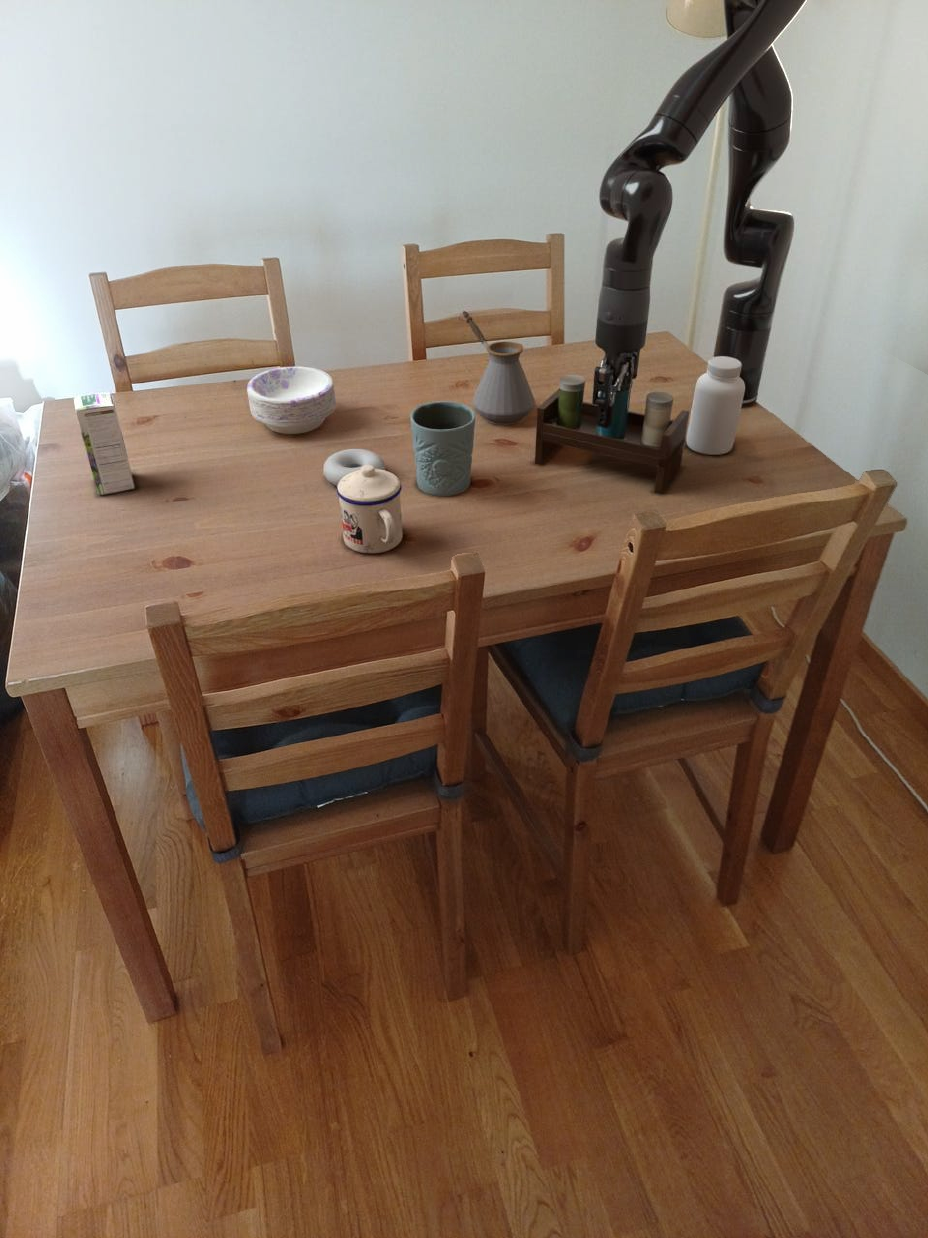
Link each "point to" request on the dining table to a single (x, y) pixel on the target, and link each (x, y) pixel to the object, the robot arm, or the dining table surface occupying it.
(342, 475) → the donut
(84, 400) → the syrup box
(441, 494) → the teal embossed cup
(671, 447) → the spice rack
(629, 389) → the spice jar
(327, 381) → the paper bowls
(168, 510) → the dining table surface
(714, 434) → the pill bottle
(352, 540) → the teacup with lid
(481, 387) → the coffee pot
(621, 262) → the robot arm
